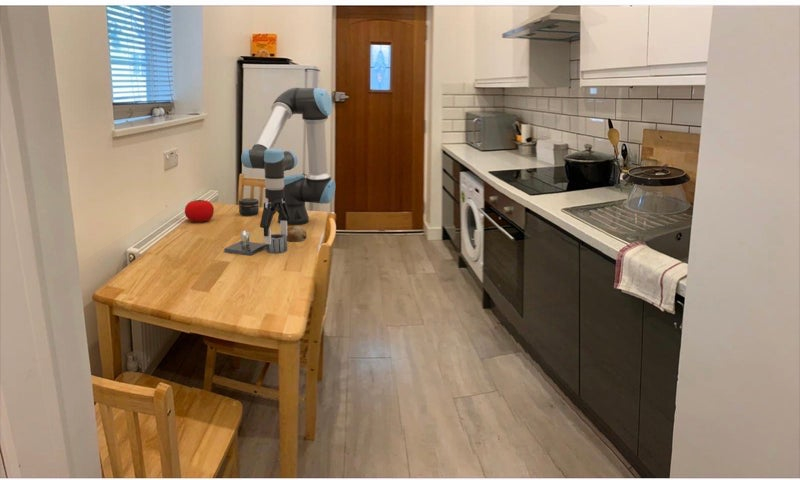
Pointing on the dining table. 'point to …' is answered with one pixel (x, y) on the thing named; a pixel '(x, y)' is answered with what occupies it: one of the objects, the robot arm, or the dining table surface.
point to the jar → (248, 207)
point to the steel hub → (277, 244)
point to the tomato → (199, 210)
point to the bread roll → (296, 234)
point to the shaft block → (245, 246)
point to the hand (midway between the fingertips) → (276, 239)
